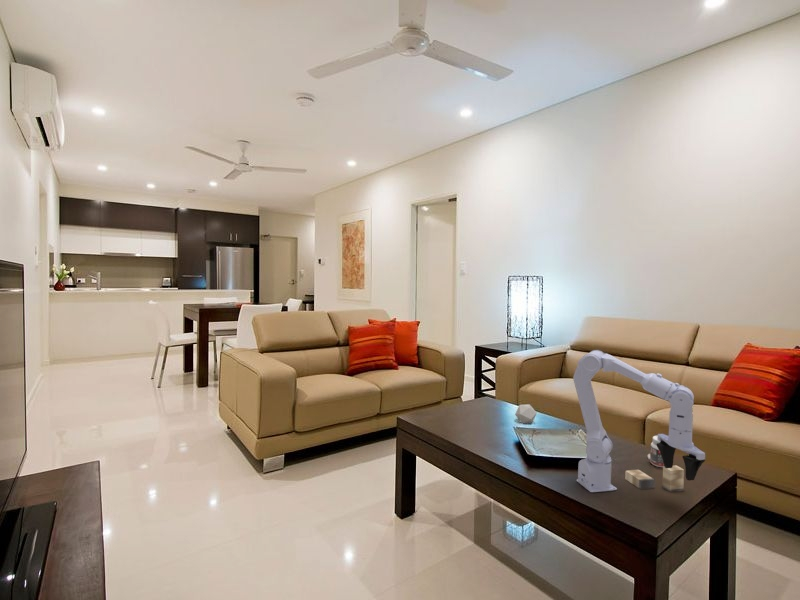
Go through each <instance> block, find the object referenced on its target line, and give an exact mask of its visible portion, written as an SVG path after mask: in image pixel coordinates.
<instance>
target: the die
mask: <svg viewBox="0 0 800 600" xmlns="http://www.w3.org/2000/svg"><path fill="white" fill-rule="evenodd" d="M515 411H516V412H515V414H514V416H516V418H517V419H518V421H519V422H520V423H521V424H533V422H534V420H535V418H536V416H537V413H538V412H537V411H536V410H535V409H534V408H533V406H532V405H531V404H519V405H518V407H517V409H516V410H515Z"/></svg>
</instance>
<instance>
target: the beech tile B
mask: <svg viewBox="0 0 800 600" xmlns="http://www.w3.org/2000/svg"><path fill="white" fill-rule="evenodd" d="M661 483H662V487H661V488H663V489H664V490H666V491H667V492H669V493H674V492H683V491H684V485H685V484H684V483H685V469H683V468H682V467H680V466H678V465H676V464H675V465H673V466H672V468H665V467H664V466H663V467H662V482H661Z"/></svg>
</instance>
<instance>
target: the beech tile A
mask: <svg viewBox="0 0 800 600" xmlns="http://www.w3.org/2000/svg"><path fill="white" fill-rule="evenodd" d="M624 473H625V475H624V477H625V478H624V479H625V481H628V482H629V483H631V484H632V485H634V486H635V487H636V488H638V489H639V490H647V489H648V490H649V489H655V478H653V477H651V476H649V474H647V473H645V472H643V471H642V470H640V469H630V470H629V469H628V470H625V472H624Z"/></svg>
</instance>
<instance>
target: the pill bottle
mask: <svg viewBox="0 0 800 600" xmlns="http://www.w3.org/2000/svg"><path fill="white" fill-rule="evenodd" d="M657 438H658V435H654V436H652V442H651V443H650V453H649V454H650V459H649V461H650V463H651V464H652V465H653V466H655V467H658V468H663V466H664V463H663V459H662V456H661V453H660V451H659V449H658V447H657V443H660V442H661V441H658V440H657Z"/></svg>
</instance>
